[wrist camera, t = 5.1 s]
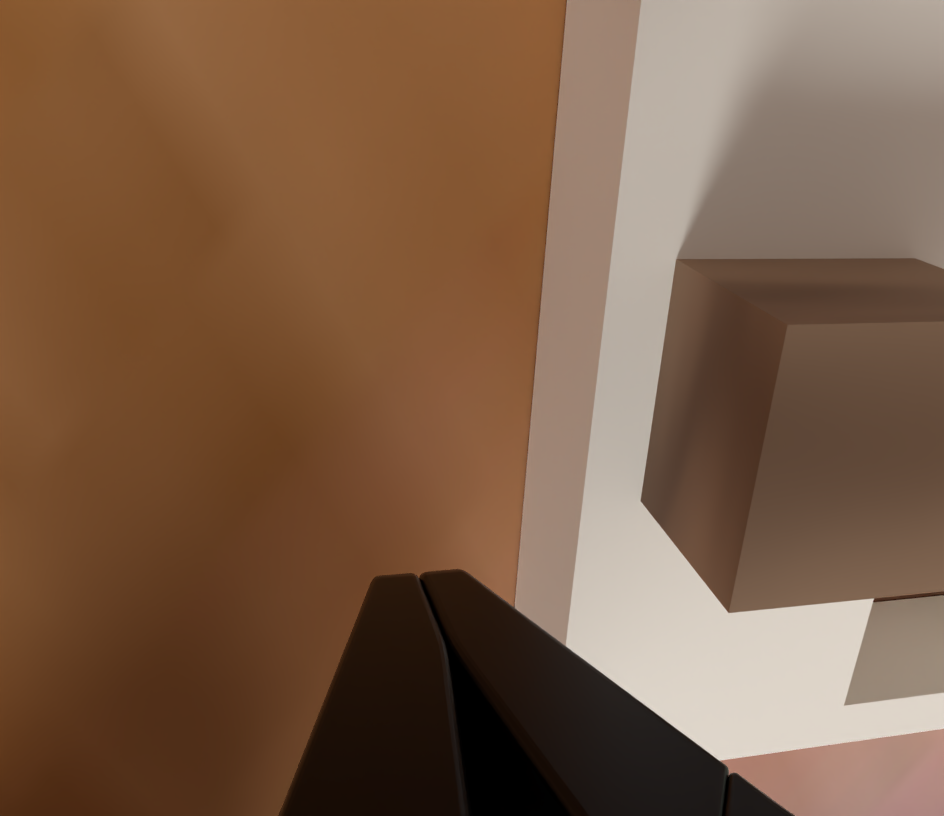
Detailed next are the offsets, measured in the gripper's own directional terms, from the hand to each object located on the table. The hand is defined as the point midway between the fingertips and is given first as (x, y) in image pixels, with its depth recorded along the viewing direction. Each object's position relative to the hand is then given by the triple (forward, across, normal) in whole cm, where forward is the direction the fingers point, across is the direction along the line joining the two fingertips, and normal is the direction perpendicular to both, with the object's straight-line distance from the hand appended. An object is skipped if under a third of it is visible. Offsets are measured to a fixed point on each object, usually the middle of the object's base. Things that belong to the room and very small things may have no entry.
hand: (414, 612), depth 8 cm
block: (+5, -7, 0) cm, 8 cm away
